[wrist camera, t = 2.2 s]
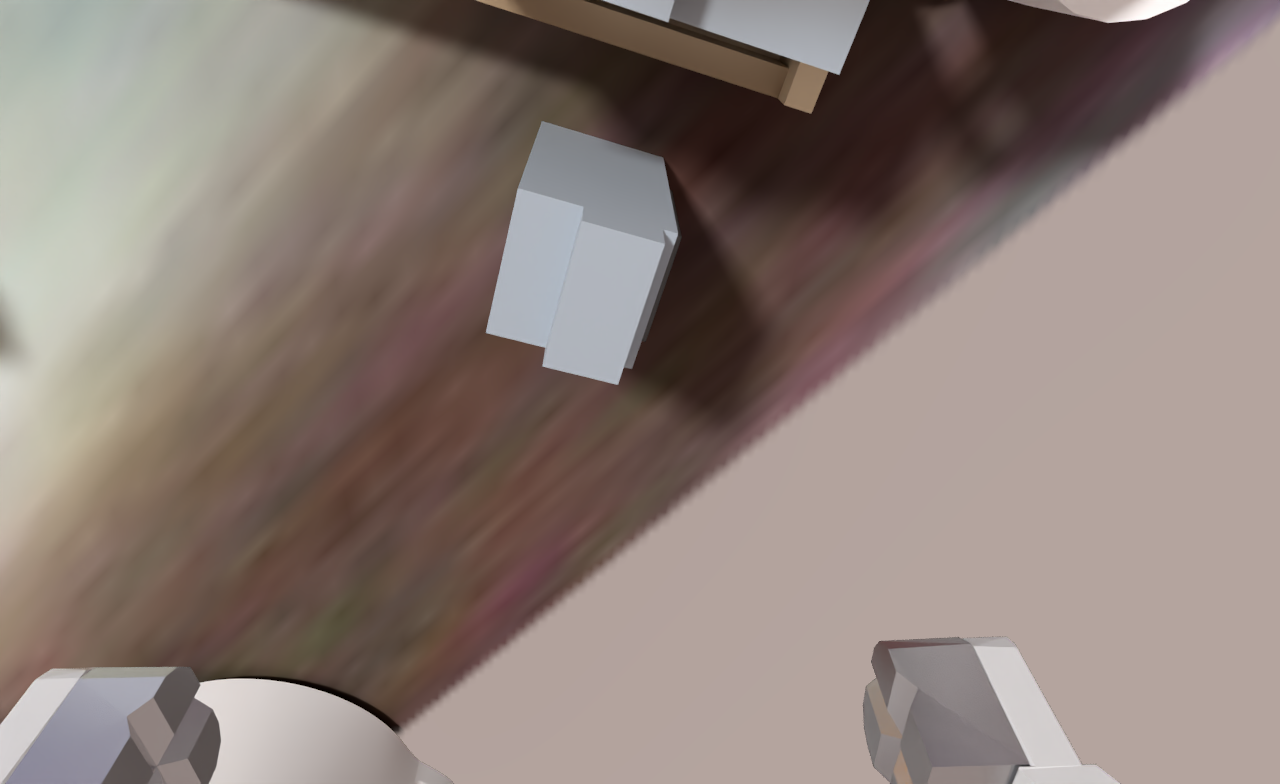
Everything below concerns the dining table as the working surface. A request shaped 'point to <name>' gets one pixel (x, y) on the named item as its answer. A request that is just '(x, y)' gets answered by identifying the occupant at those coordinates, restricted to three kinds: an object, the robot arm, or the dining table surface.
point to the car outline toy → (1107, 8)
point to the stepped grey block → (586, 253)
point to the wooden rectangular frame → (720, 37)
